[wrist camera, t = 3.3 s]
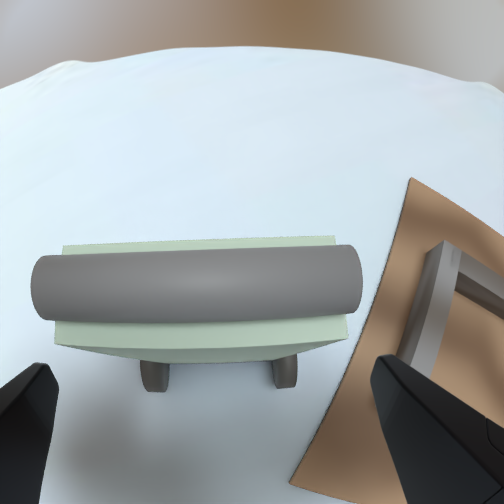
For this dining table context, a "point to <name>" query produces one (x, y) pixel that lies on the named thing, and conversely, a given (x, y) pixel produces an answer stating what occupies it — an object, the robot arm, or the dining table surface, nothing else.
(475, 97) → the dining table surface
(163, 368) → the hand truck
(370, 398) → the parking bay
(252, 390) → the dining table surface
